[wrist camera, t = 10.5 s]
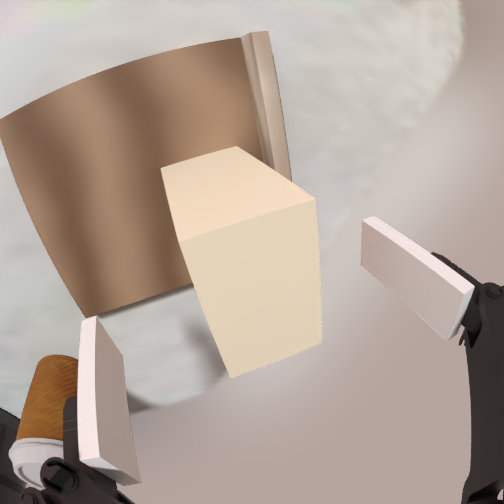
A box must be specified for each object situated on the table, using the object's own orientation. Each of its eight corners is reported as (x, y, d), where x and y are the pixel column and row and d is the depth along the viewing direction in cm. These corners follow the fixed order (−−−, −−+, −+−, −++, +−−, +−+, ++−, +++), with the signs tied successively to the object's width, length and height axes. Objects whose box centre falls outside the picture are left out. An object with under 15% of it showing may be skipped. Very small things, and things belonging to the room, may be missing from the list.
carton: (160, 168, 18) (178, 242, 10) (237, 145, 19) (317, 198, 11) (193, 271, 23) (230, 378, 14) (258, 249, 23) (323, 341, 15)
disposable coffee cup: (6, 359, 22) (-13, 463, 12) (70, 329, 23) (60, 453, 13) (63, 408, 27) (64, 501, 18) (126, 386, 28) (140, 491, 19)
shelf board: (87, 306, 23) (83, 336, 20) (5, 119, 14) (-18, 126, 11) (283, 240, 26) (303, 261, 23) (251, 38, 17) (271, 30, 14)
